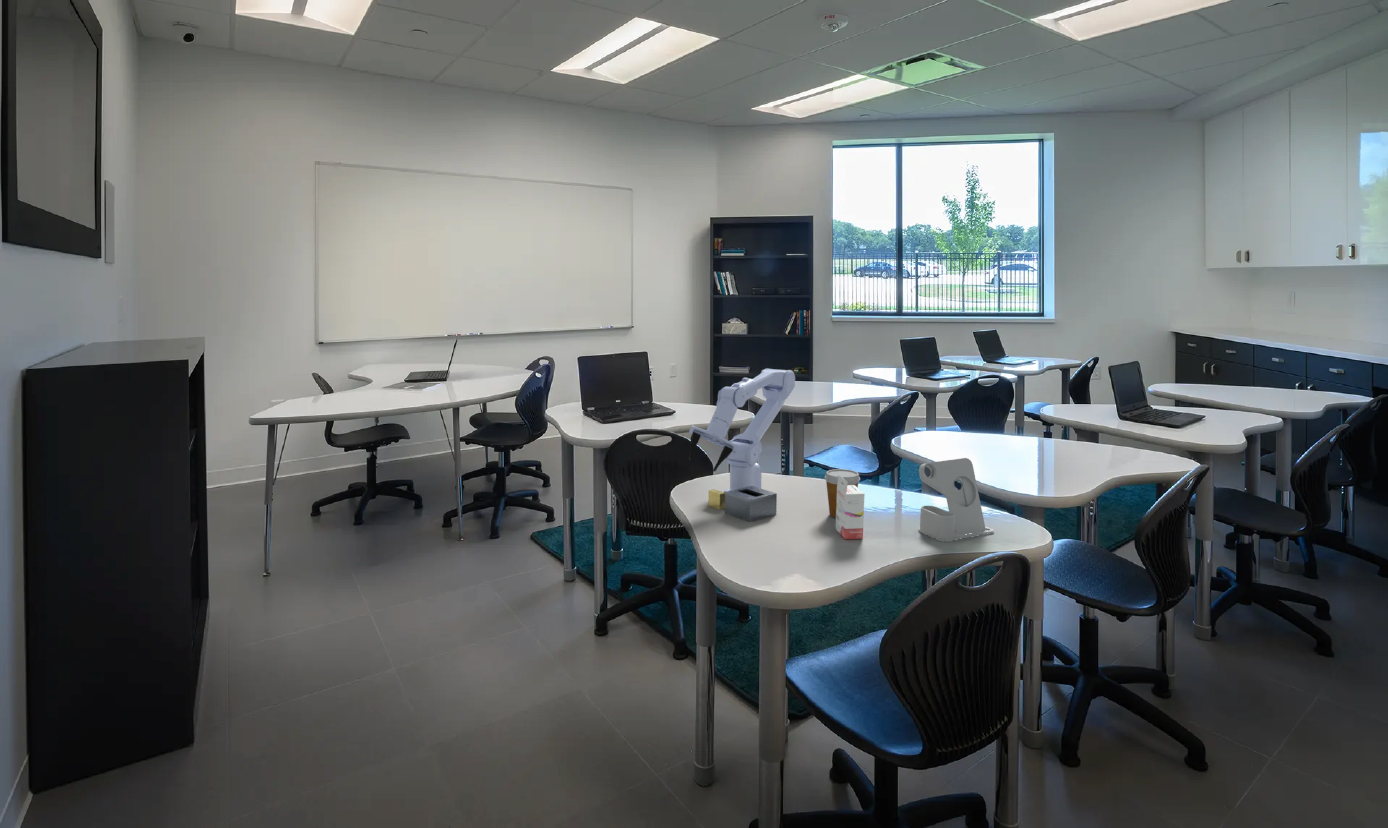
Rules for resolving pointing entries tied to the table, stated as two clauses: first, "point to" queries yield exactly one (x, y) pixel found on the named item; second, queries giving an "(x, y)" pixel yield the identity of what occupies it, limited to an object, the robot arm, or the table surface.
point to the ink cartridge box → (849, 510)
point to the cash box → (750, 503)
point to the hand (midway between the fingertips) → (702, 464)
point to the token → (717, 499)
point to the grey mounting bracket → (952, 502)
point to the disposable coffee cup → (832, 482)
